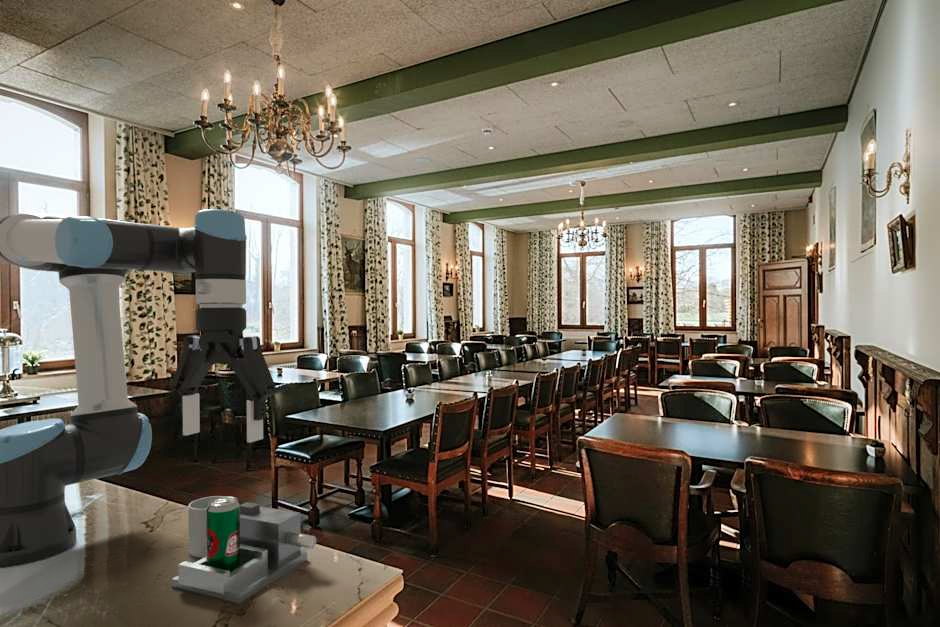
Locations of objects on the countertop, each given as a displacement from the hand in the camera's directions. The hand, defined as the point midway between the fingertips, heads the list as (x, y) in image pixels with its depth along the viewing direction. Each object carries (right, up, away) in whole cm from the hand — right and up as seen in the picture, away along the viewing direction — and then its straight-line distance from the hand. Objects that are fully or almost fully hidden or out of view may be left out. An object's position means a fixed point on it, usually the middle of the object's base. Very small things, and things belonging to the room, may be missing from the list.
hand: (222, 437), depth 90 cm
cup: (-9, -24, +14) cm, 29 cm away
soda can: (0, -23, 0) cm, 23 cm away
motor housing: (+3, -24, +3) cm, 24 cm away
